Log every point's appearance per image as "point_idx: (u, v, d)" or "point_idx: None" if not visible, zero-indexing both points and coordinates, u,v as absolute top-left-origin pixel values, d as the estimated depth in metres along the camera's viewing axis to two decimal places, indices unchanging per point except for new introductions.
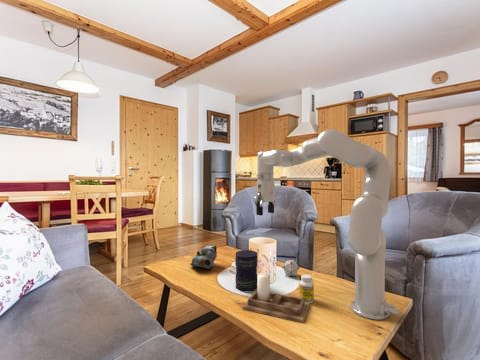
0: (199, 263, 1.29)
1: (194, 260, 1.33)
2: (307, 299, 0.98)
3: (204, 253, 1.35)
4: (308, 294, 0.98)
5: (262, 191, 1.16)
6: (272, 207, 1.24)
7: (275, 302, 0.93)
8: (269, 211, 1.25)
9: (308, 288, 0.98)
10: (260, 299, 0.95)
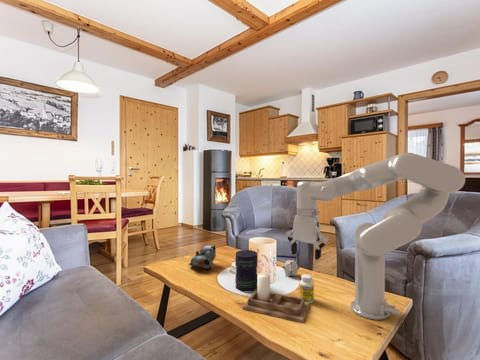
0: (198, 263, 1.30)
1: (193, 260, 1.33)
2: (307, 299, 0.98)
3: (203, 253, 1.35)
4: (308, 294, 0.98)
5: (319, 229, 0.98)
6: (296, 246, 1.04)
7: (275, 302, 0.93)
8: (294, 252, 1.03)
9: (308, 288, 0.98)
10: (260, 299, 0.95)
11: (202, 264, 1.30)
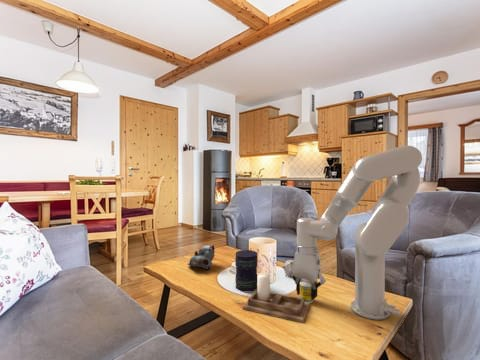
0: (197, 263, 1.30)
1: (192, 260, 1.33)
2: (307, 299, 0.98)
3: (202, 253, 1.36)
4: (308, 294, 0.98)
5: (320, 267, 0.98)
6: None
7: (275, 302, 0.93)
8: (299, 292, 1.02)
9: (308, 288, 0.98)
10: (260, 299, 0.95)
11: (201, 264, 1.30)
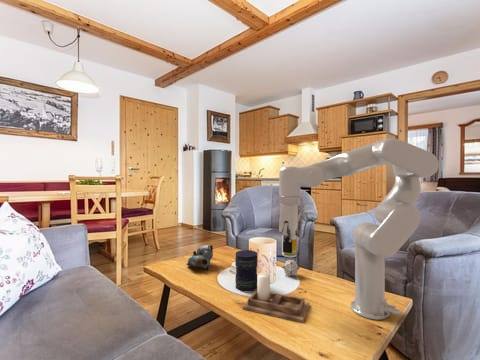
0: (196, 263, 1.30)
1: (191, 260, 1.33)
2: None
3: (201, 253, 1.36)
4: None
5: None
6: None
7: (275, 302, 0.93)
8: None
9: None
10: (260, 299, 0.95)
11: (200, 264, 1.30)
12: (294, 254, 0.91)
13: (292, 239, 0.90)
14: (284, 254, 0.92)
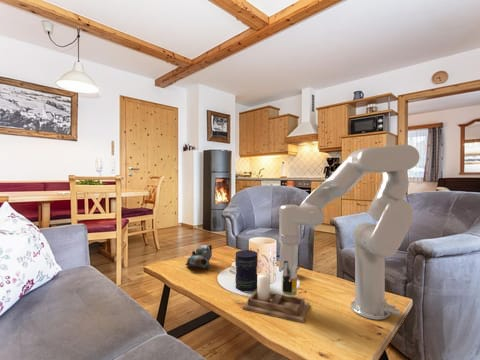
0: (195, 262, 1.30)
1: (190, 260, 1.33)
2: None
3: (200, 252, 1.36)
4: None
5: None
6: None
7: (275, 302, 0.93)
8: None
9: None
10: (260, 299, 0.95)
11: (199, 264, 1.30)
12: (294, 293, 0.91)
13: (292, 278, 0.91)
14: (284, 293, 0.92)
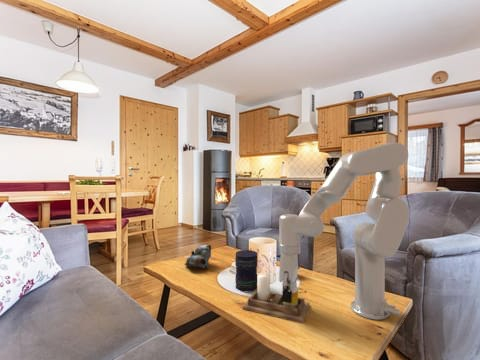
0: (195, 262, 1.30)
1: (189, 260, 1.33)
2: None
3: (199, 252, 1.36)
4: None
5: None
6: None
7: (275, 302, 0.93)
8: None
9: None
10: (260, 299, 0.95)
11: (199, 263, 1.31)
12: (295, 307, 0.91)
13: (293, 292, 0.91)
14: None
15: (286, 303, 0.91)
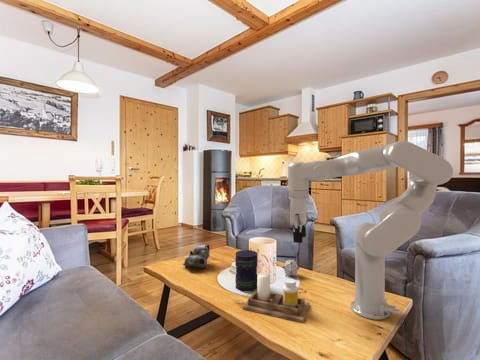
0: (194, 262, 1.31)
1: (188, 260, 1.33)
2: None
3: (197, 252, 1.36)
4: None
5: None
6: None
7: (275, 302, 0.93)
8: None
9: None
10: (260, 299, 0.95)
11: (197, 263, 1.31)
12: (295, 307, 0.91)
13: (293, 292, 0.91)
14: None
15: (286, 303, 0.91)
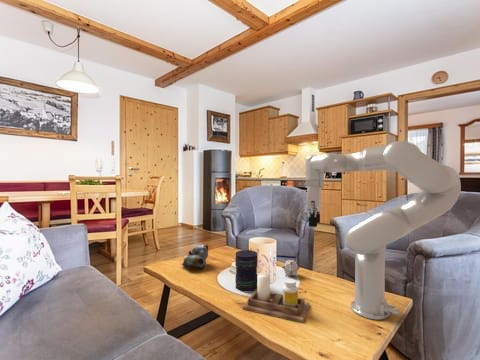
0: (193, 262, 1.31)
1: (187, 259, 1.34)
2: None
3: (196, 252, 1.37)
4: None
5: None
6: None
7: (275, 302, 0.93)
8: None
9: None
10: (260, 299, 0.95)
11: (196, 263, 1.31)
12: (295, 307, 0.91)
13: (293, 292, 0.91)
14: None
15: (286, 303, 0.91)
